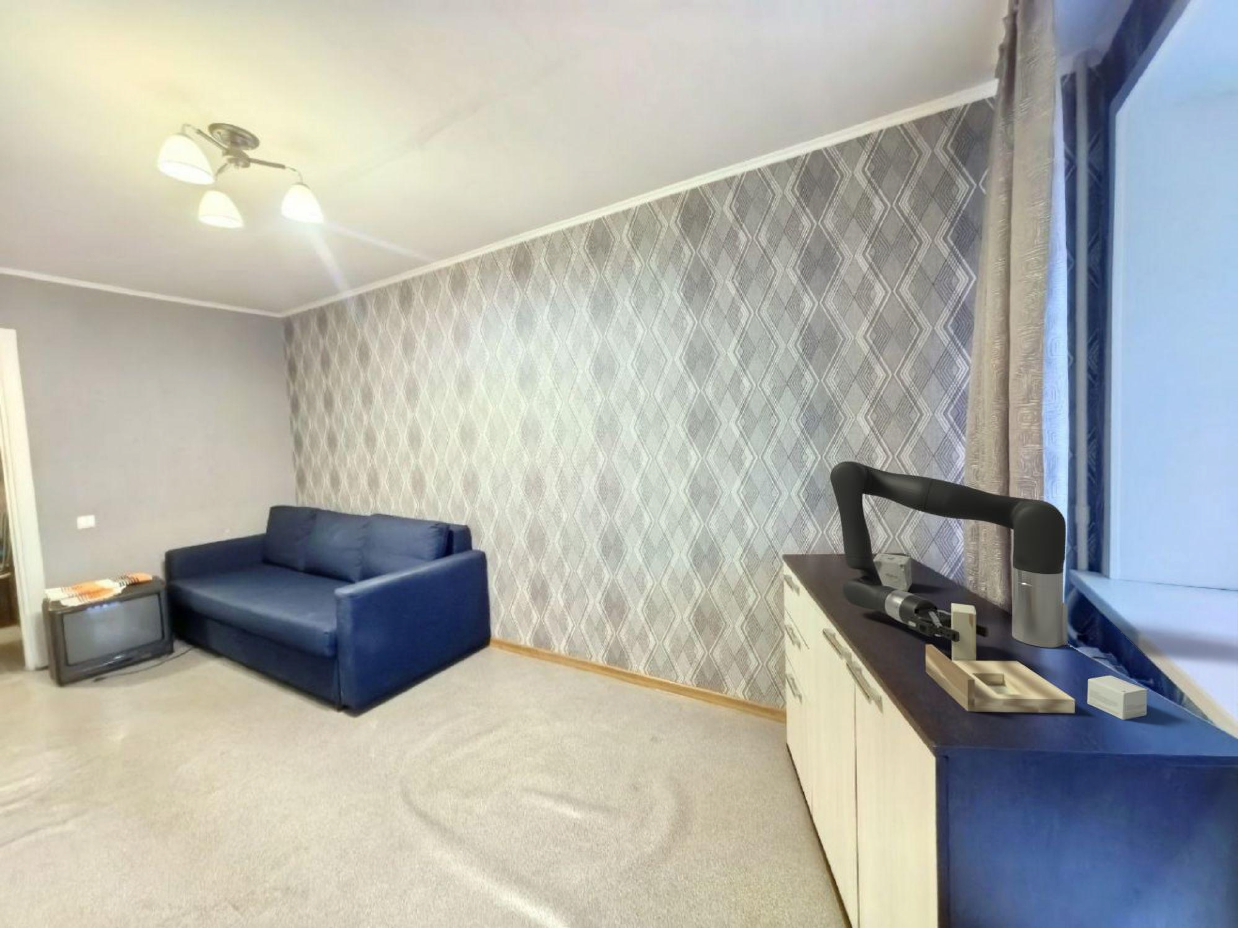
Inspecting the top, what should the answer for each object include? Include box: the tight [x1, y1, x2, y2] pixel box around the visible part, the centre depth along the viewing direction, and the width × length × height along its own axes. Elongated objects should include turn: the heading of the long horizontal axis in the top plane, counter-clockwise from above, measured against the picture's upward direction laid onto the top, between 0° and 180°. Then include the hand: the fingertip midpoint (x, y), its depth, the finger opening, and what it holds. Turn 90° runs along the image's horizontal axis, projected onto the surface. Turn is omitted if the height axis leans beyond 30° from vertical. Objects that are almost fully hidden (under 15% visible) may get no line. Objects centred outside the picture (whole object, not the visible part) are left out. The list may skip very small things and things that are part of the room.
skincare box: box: [950, 602, 977, 661], centre depth 109 cm, size 6×4×12 cm
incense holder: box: [873, 552, 913, 592], centre depth 160 cm, size 10×8×10 cm
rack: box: [925, 644, 1076, 714], centre depth 97 cm, size 18×15×6 cm
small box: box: [1086, 675, 1148, 721], centre depth 90 cm, size 6×6×5 cm
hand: (972, 634), depth 107 cm, fingers closed on skincare box, 7 cm apart
